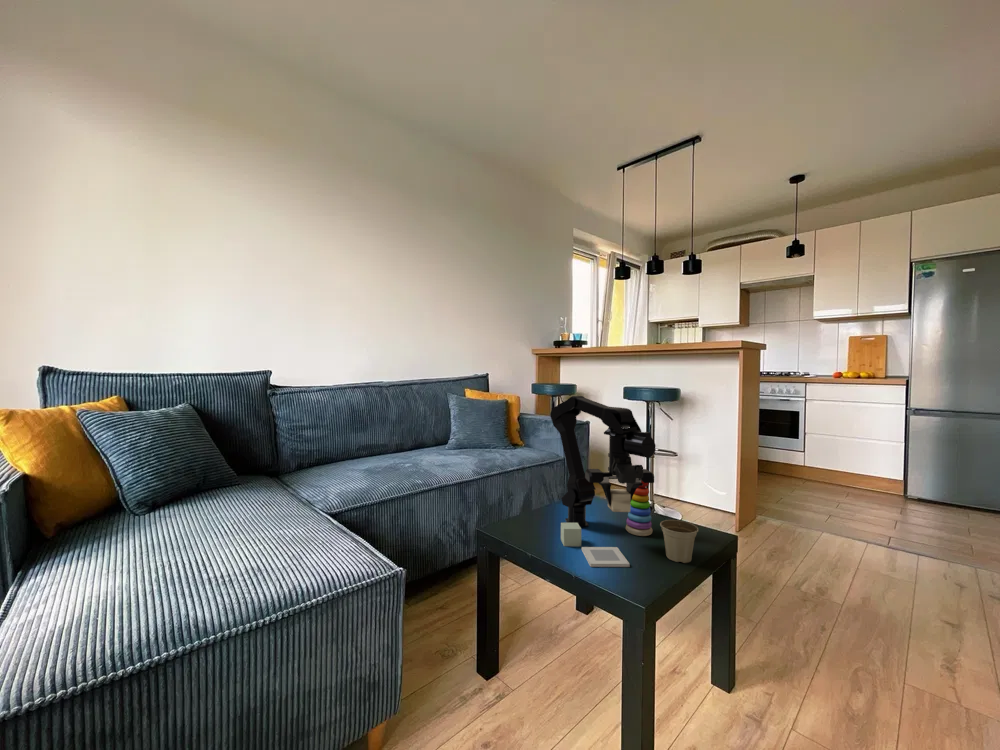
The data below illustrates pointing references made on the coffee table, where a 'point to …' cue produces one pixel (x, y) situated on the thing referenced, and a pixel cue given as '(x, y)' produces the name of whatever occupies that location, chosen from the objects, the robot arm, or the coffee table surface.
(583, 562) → the coffee table surface
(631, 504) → the stacking toy
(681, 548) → the flower pot
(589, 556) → the plate
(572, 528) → the block sage
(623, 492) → the block birch
